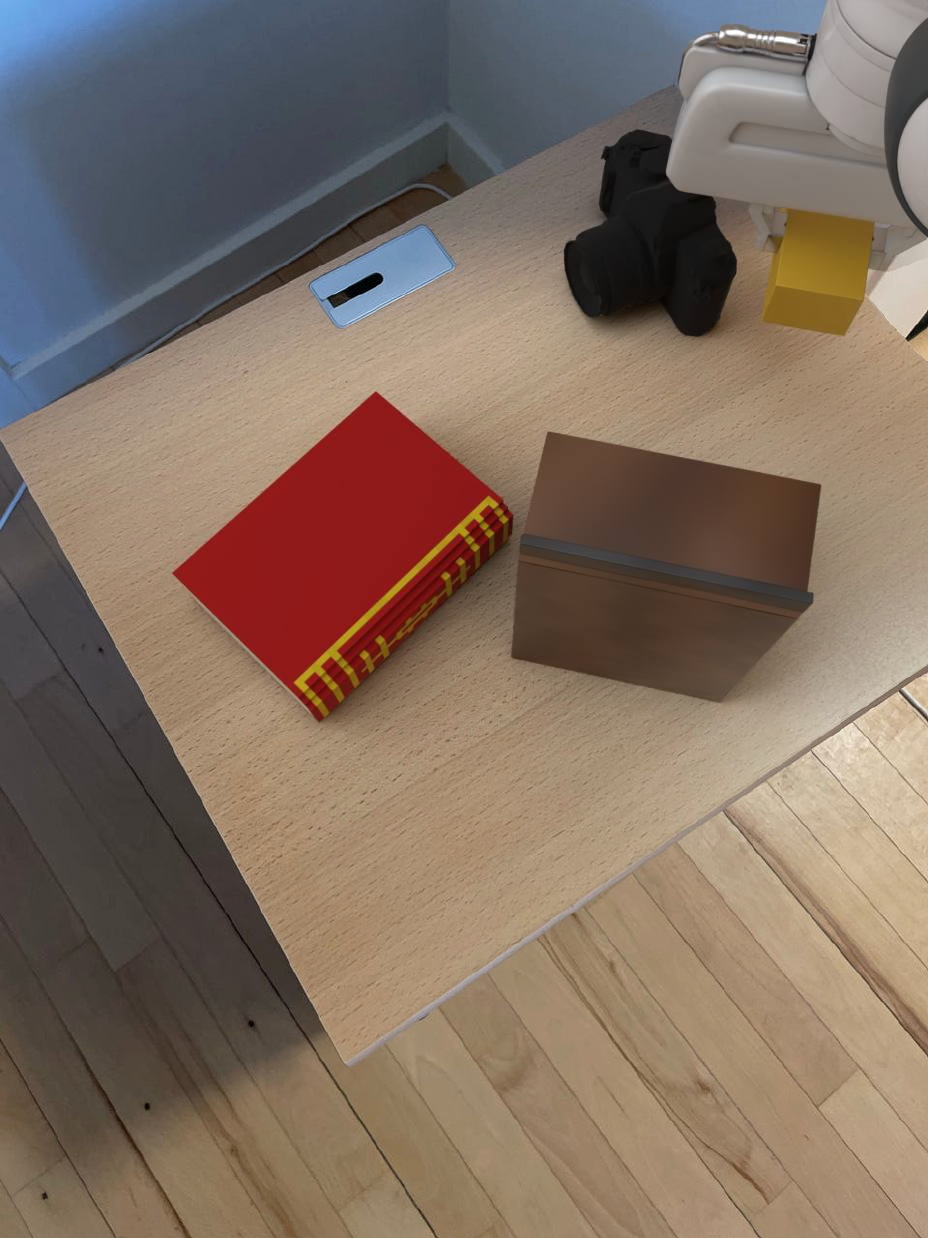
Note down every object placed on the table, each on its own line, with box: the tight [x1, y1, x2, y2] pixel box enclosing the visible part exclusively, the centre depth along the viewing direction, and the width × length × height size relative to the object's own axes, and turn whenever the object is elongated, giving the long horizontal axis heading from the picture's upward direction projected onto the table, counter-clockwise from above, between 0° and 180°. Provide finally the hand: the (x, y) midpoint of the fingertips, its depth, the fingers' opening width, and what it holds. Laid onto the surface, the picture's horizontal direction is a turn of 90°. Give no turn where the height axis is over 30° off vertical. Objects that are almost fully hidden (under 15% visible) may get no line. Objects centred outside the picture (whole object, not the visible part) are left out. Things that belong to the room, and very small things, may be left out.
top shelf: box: [518, 431, 822, 619], centre depth 49 cm, size 14×7×2 cm, turn 77°
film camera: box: [563, 128, 738, 337], centre depth 71 cm, size 15×10×9 cm, turn 25°
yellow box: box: [760, 207, 876, 337], centre depth 59 cm, size 5×9×4 cm, turn 166°
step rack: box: [510, 559, 799, 704], centre depth 59 cm, size 14×13×17 cm
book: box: [171, 390, 514, 724], centre depth 65 cm, size 18×13×5 cm
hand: (820, 252), depth 59 cm, fingers closed on yellow box, 5 cm apart
